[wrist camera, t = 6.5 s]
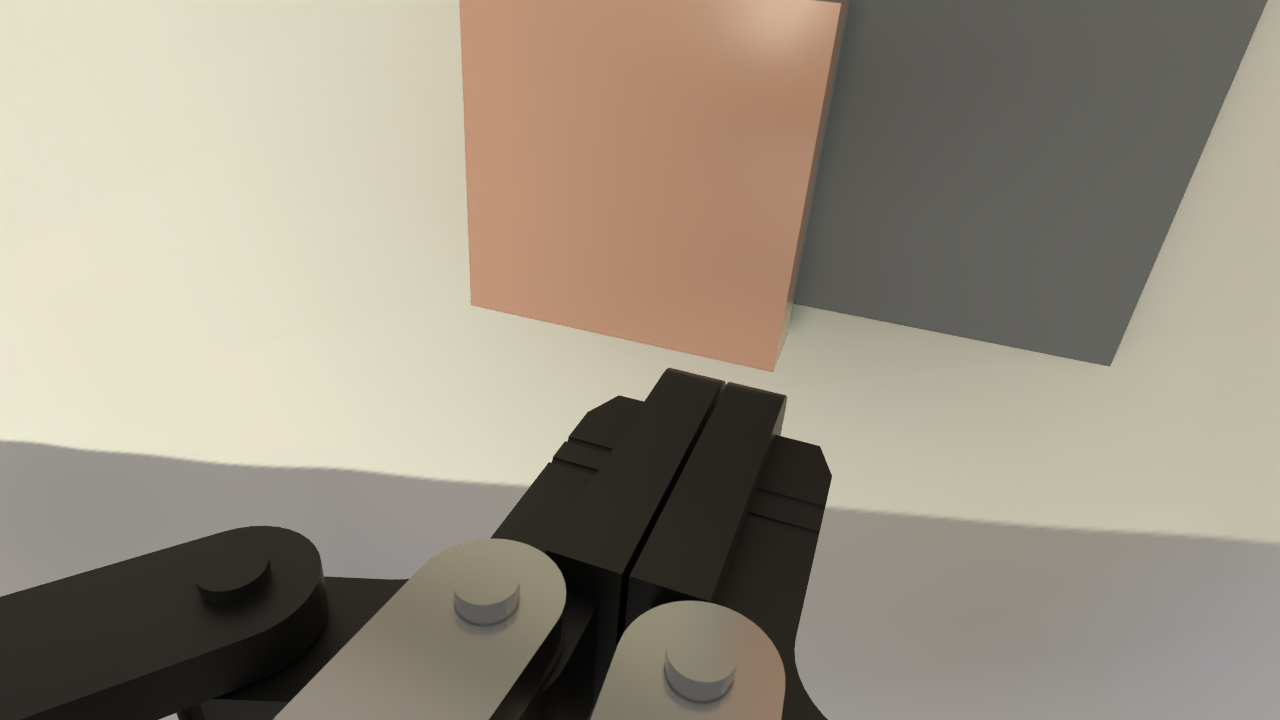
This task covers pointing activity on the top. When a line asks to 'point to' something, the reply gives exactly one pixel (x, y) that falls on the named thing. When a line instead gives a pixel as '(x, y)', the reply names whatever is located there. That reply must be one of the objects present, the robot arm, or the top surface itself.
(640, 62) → the tile
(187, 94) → the top surface
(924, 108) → the mat
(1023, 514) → the top surface
